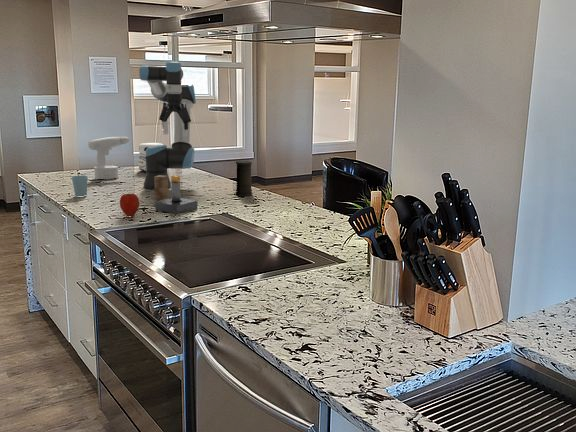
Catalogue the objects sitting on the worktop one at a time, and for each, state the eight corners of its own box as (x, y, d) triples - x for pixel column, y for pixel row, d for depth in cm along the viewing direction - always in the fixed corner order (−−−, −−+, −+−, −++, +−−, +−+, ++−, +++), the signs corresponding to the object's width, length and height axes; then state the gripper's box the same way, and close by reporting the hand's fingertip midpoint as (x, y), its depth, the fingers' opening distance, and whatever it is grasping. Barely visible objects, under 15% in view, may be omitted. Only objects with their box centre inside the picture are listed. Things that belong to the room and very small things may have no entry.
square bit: (155, 199, 291) (154, 176, 288) (160, 197, 296) (159, 175, 293) (163, 200, 289) (162, 177, 287) (168, 198, 294) (167, 175, 291)
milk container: (134, 173, 368) (133, 145, 363) (145, 168, 384) (144, 142, 380) (159, 174, 365) (158, 146, 361) (169, 170, 381) (168, 143, 377)
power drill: (132, 177, 351) (130, 136, 345) (92, 180, 338) (89, 138, 332) (128, 175, 358) (126, 135, 352) (88, 178, 345) (86, 137, 339)
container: (253, 193, 311) (253, 160, 307) (250, 196, 302) (250, 163, 298) (237, 192, 312) (237, 160, 308) (234, 196, 303) (234, 162, 299)
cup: (83, 198, 291) (82, 178, 288) (70, 197, 292) (68, 177, 290) (91, 195, 298) (90, 175, 295) (78, 194, 300) (77, 175, 297)
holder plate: (155, 210, 269) (154, 201, 268) (176, 204, 280) (176, 196, 280) (176, 214, 262) (176, 205, 261) (197, 208, 273) (197, 200, 272)
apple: (134, 213, 261) (133, 190, 259) (143, 217, 256) (142, 193, 253) (116, 216, 256) (115, 192, 253) (126, 220, 250) (125, 195, 247)
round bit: (170, 209, 270) (169, 176, 267) (176, 208, 274) (175, 175, 270) (176, 210, 268) (175, 177, 265) (182, 209, 272) (181, 176, 268)
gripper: (151, 92, 294) (152, 134, 299) (187, 94, 280) (188, 137, 286) (162, 92, 300) (163, 132, 305) (197, 93, 287) (198, 136, 292)
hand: (175, 135), depth 295 cm, fingers open, 13 cm apart
